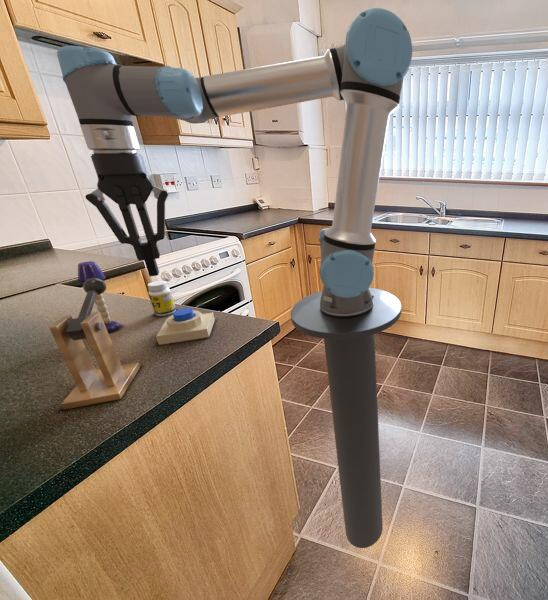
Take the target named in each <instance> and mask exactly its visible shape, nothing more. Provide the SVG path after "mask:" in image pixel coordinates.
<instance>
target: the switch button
mask: <svg viewBox="0 0 548 600" xmlns="http://www.w3.org/2000/svg"><path fill="white" fill-rule="evenodd" d="M193 310H194V309H193V308H190V307H184V308H179V309H176V311H175V312H173V313H172V315H173V317H174V320H175V321H178V322H179V321H186V320H189V319H192V318H193V317H195V316H194V313H193Z"/></svg>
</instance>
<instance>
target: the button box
mask: <svg viewBox="0 0 548 600" xmlns="http://www.w3.org/2000/svg"><path fill="white" fill-rule="evenodd" d="M193 313H194V316H195V317H193V318H192V319H189V320H186V321H179V322H178V321H175V320H174V317H173V314H171V315H169V316H168V317H167V318H166V320H165V322H164V323H163V325H162V326H161V328H160V329H159V331H158V332H157V334H156V335H155V337H156V340H157V344H158V345H159V346H161V345H168V344H174V343H180V342H181V343H182V342H188V341H193V340H199V339H205V338H206V339H207V338H210V335H211V333H212V330H213V327H214V325H215V320H216V319H215V316H214V315H215V314H214V312H207V313H202V312H201V311H200V310H194V309H193Z"/></svg>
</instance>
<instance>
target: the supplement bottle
mask: <svg viewBox="0 0 548 600" xmlns="http://www.w3.org/2000/svg"><path fill="white" fill-rule="evenodd" d="M147 289H148V297H149V300H150V303H151V305H152V309H153V312H154V315H155V316H157V317H166V316H171V315H173V312H175V311H177V308H176V304H175V301H174V298H173V294H172V291H171V289H170V288H169V287H168V283H167V281H166V280H155V281H151V282H149V283H147Z"/></svg>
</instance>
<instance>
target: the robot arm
mask: <svg viewBox="0 0 548 600" xmlns="http://www.w3.org/2000/svg"><path fill="white" fill-rule="evenodd" d="M412 42H413V41H412V38H411V34H410V32H409V30H408V28H407V26H406V25H405V23H404V22H403V20H402V19H401V18H400V17H399V16H398V15H397V14H395V13H394V12H392V11H391V10H389V9H386V8H381V7H371V8H367V9H365V10H364V11H362V12H360V13H359V14H358V15H357V16H356V17H355V18H354V19H353V20H352V22H351V24H350V25H349V26H348V30H347V31H346V35H345V43H344V44H342V45H340V46H337V47H333V48H327V50H326V51H325V53H324V55H321V56H315V57H309V58H303V59H298V60H292V61H285V62H281V63H274V64H267V65H263V66H256V67H252V68H244V69H239V70H233V71H228V72H222V73H216V74H210V75H205V76H199V77H195V76H194V74H193V73H192V72H191V70H188V69H186V68H182V67H181V68H180V67H172V66H170V65H164V66H145V65H144V66H141V65H120V64H118V63H117V62H116V61H115V58H114V56H113V55H112V54H111V53H110V52H107V51H105V50H102V49H99V48H95V47H85V46H80V45H64V46H61V47H59V48H58V49H57V51H56V57H57V60H58V63H59V68H60V71H61V74H62V75H61V76H62V81H63V82H64V83H65V86H66V88H67V91H68V94H69V97H70V99H71V102H72V103H71V104H72V105H73V107H74V111H75V114H76V116H77V120H78V123H79V126H80V129H81V132H82V135H83V138H84V141H85V145H86V147H87V149H88V150H89V151H93V153H91V155H90V158H91V161H92V165H93V168H94V171H95V174H96V176H97V183H96V187H97V188H96V189H95V190H93V191H92V192H90V193H87V194H86V195H85V199H86V200H87V201H88V202H89V203H90V204H92V205H93V206H94V207H96V209H97V210H98V212H99V214H100V215H101V217H102V218H103V220H104V221H105V222H106V224H107V225H108V227H109V228H110V231H112V233H113V235H114V236H115V237H116V239H117V240H118V242H119V243H120V244H123V245H124V244H126V245H130V246H132V247H133V251H134V253H135V256H136V259H137V260H138V261H139V262H141V261H144V264H145V266H146V270H147V273H148V276H149V277H156V276H157V277H158V276H159V275H160V269H159V267H158V263H157V261H156V259H157V260H158V259H160V257H161V256H160V255H161V251H160V248H159V246H158V242H159V241H162V240H164V239H165V237H166V201H167V199H168V196H169V193H170V192H169V190H167V189H163V188H160V187H158V186H157V185H155V184H154V181H152V180H151V179H150V177H149V175H148V171H147V168H146V165H145V161H144V158H143V155H142V154H141V153H138V151H140V149H141V148H140V144H139V143H140V142H139V140H138V136H137V133H136V129H135V126H134V123H133V120H132V117H165V118H171V119H175V120H179V121H180V120H181V121H184V122H187V123H189V124H194V125H195V124H203V123H206V122H208V121H209V120H212V119H217V118H222V117H228V116H233V115H237V114H243V113H250V112H254V111H260V110H266V109H271V108H278V107H283V106H289V105H294V104H300V103H305V102H310V101H316V100H322V99H327V98H334V99H335V100H337V101H338V102H339V101H345V105H346V110H345V118H344V126H343V134H342V143H341V150H340V151H341V152H340V160H339V167H338V175H337V176H338V177H337V182H336V191H335V192H336V193H335V198H334V199H335V201H334V207H333V217H332V225H331V226H330V227H327V228H323V229H320V231H319V232H318V237H319V238H318V242H319V246H320V267H319V279H320V280H321V283H322V285H323V287H322V290H321V291H322V295H321V300H320V310H321V312H322V313H323V314H324V315H326V316H329V317H333V318H353V317H358V316H361V315H364V314H366V313H368V312H369V311H371V310H372V308H373V298H374V296H373V295H371V292H370V290H369V288H371V285H372V283H373V280H374V275H375V272H374V271H375V268H374V265H373V260H374V253H375V250H376V249H375V248H376V247H375V246H376V241H377V240H376V238H375V237H374V235H373V234H372V225H373V221H374V212H375V208H376V207H375V206H376V200H377V196H378V195H377V194H378V189H379V183H380V176H381V171H382V165H383V158H384V152H385V146H386V140H387V134H388V129H389V121H390V115H392V113H394V112H395V111H396V110H397V109H399V108H400V102H401V97H402V90H403V85H404V79H405V76H407V73H408V72H409V70H410V67H411V64H412V59H413V43H412ZM152 192H153V197H154V198H155V199H156V233H155V232H154V229H153V224H152V222H151V218H150V215H149V211H148V208H147V204H146V202H147V201H148V200H149V197H150V195H151V193H152ZM104 195H105V196H106V197H108V198H109V199H110V200H112V201H113V202H114V203H115V204H117V205H118V207H119V211H120V212H121V216H122V218H123V221H124V224H125V227H126V230H127V233H126V231H125V230H124V228H123V227H122V225H121V224H120V222H119V220H118V219H117V217H116V216H115V215H114V213H113V211H112V209H111V208H110V207H109V205H108V204H107V203H106V202H105V201H106V197H105V196H104ZM131 205H135V208H136V210H137V213H138V216H139V220H140V222H141V226H142V229H143V231H144V235H145V238H146V242H142V238H141V237H140V233H139V231H138V227H137V225H136V221H135V218H134V215H133V211H132V209H131V208H132V207H131Z"/></svg>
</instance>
